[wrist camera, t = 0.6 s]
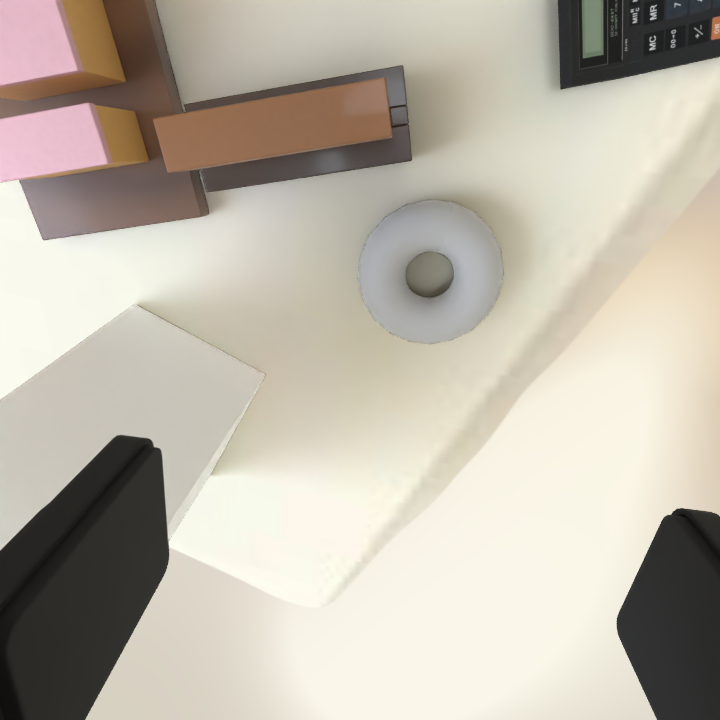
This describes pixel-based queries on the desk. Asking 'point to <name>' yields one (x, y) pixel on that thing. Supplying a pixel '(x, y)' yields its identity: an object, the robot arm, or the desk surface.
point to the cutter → (276, 126)
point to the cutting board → (148, 100)
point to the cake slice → (69, 142)
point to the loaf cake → (55, 48)
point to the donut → (437, 234)
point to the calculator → (633, 37)
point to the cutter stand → (322, 159)
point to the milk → (121, 413)
